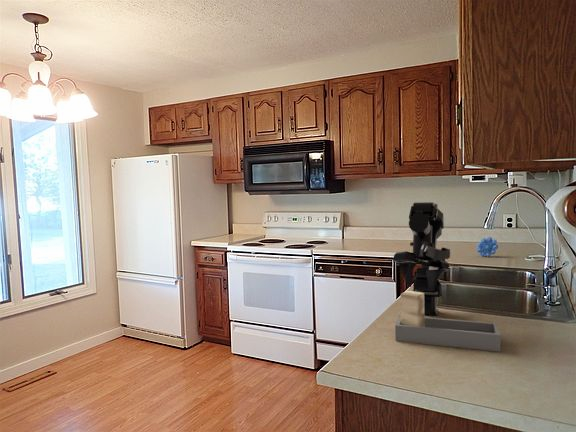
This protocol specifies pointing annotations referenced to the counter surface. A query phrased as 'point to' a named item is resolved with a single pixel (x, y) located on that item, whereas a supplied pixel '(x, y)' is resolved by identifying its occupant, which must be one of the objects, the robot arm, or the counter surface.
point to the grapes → (487, 246)
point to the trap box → (451, 333)
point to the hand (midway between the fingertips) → (420, 289)
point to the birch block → (412, 309)
